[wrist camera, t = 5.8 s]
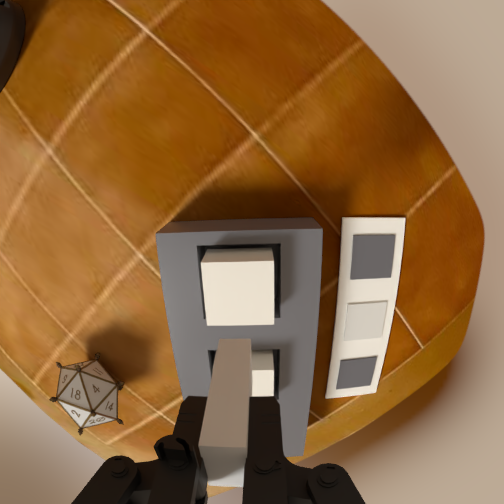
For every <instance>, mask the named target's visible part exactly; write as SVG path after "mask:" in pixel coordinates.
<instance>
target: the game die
mask: <svg viewBox="0 0 504 504" xmlns="http://www.w3.org/2000/svg"><path fill="white" fill-rule="evenodd" d="M95 355H96V356H95V359H94V360H90V361H86V362H81V363H77V364H72V365H68V366H63V367H62V366H61V364H60V363H59V362H56V364H57V366H58V368H60V375H59V381H58V387H57V394H56V397H51V399H50V401H52V402H56V401H58V403H59V404H60V405H61V406H62V408H63V409H64V410H65V411H66V412H67V414H68V415H69V416H70V417H71V418H72V419H73V421H74V422H75V423H76V424H77V425H78V426H79V427H80V429H78V430H79V431H78V432H79V435H81V434H82V432H83V428H87V427H91V426H95V425H99V424H103V423H107V422H111V421H115V420H117V422H118V423H119V424H123V422H122V420H121V419H118V390H121V389H122V388H123V387H121V386H122V385H123V383H124V382H122V381H119V382H118V383H116V381H115V380H114V379H113V378H112V377H111V376H110V374H109V373H108V372H107V371H106V370H105V369H104V367H103V366H102V365H101V364H100V362H99V361H98V359H99V357H100V356H99V353H97V354H95ZM123 425H124V424H123Z"/></svg>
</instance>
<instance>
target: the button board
mask: <svg viewBox="0 0 504 504" xmlns="http://www.w3.org/2000/svg"><path fill="white" fill-rule="evenodd" d="M322 239H323V228H322V227H321V226H320V225H319V224H318V223H317V222H316V220H315V219H314V218H262V219H228V220H201V221H178V222H169V223H168V224H166V225H165V226H164V227H163V228H162V229H160V230H159V231H158V232H157V233H156V242H157V251H158V259H159V267H160V274H161V281H162V288H163V295H164V302H165V308H166V314H167V320H168V326H169V331H170V337H171V342H172V348H173V353H174V358H175V363H176V368H177V373H178V377H179V382H180V387H181V391H182V396H183V400H185V399H186V398H187V397H188V396H206V397H208V393H209V388H210V383H211V378H212V373H213V365H214V360H215V354H216V350H217V348H218V343H219V339H251V350H269V349H272V351H273V364H274V397H275V398H276V400H277V401H278V403H279V404H280V414H281V427H282V441H283V452H284V455H285V457H292V456H303V452H304V446H305V439H306V432H307V424H308V417H309V409H310V401H311V392H312V383H313V374H314V364H315V353H316V342H317V330H318V317H319V302H320V285H321V265H322ZM236 248H272V252H273V258H274V325H232V326H207V320H206V311H205V302H204V292H203V281H202V270H201V261H202V259H203V257H204V255H205V253H206V251H207V249H236Z"/></svg>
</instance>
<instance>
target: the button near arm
mask: <svg viewBox="0 0 504 504" xmlns="http://www.w3.org/2000/svg"><path fill="white" fill-rule="evenodd" d="M201 270H202V281H203V292H204V302H205V311H206V320H207V326H232V325H274V258H273V252H272V248H236V249H207V251H206V253H205V255H204V257H203V259H202V261H201Z"/></svg>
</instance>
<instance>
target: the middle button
mask: <svg viewBox="0 0 504 504" xmlns="http://www.w3.org/2000/svg"><path fill="white" fill-rule="evenodd" d="M216 353H217V350H216ZM251 355H252V380H253V383H252V397H253V396H274V364H273V351H272V349H269V350H251ZM215 358H216V354H215ZM214 363H215V360H214ZM213 368H214V365H213Z"/></svg>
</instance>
